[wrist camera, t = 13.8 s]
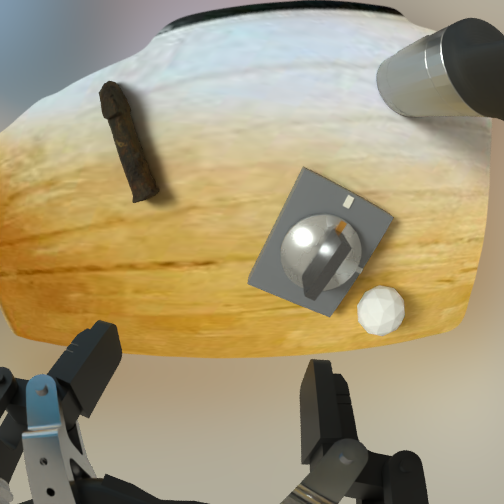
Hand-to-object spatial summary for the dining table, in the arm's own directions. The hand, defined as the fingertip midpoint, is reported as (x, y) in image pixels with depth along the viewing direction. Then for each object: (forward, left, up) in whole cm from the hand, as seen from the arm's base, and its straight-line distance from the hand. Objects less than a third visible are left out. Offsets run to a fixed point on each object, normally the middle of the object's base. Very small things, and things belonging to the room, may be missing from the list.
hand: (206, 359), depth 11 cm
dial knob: (+3, +11, -27) cm, 30 cm away
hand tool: (0, -20, -31) cm, 37 cm away
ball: (+7, +24, -30) cm, 40 cm away
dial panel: (+3, +11, -30) cm, 32 cm away
